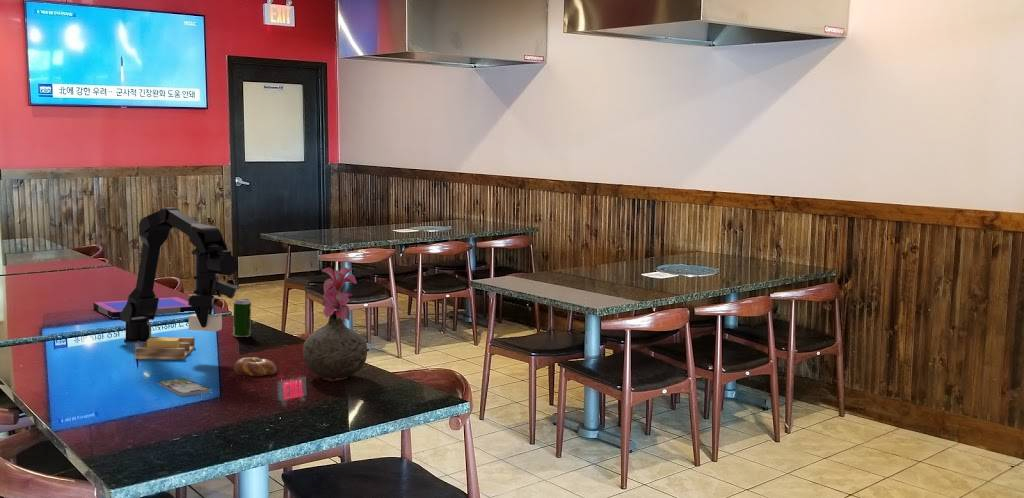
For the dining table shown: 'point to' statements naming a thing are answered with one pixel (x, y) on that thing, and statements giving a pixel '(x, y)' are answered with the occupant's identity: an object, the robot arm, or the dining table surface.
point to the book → (163, 307)
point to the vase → (335, 334)
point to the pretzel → (254, 367)
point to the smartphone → (183, 387)
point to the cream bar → (212, 324)
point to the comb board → (166, 350)
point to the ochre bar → (163, 343)
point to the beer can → (242, 318)
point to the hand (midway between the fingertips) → (205, 325)
